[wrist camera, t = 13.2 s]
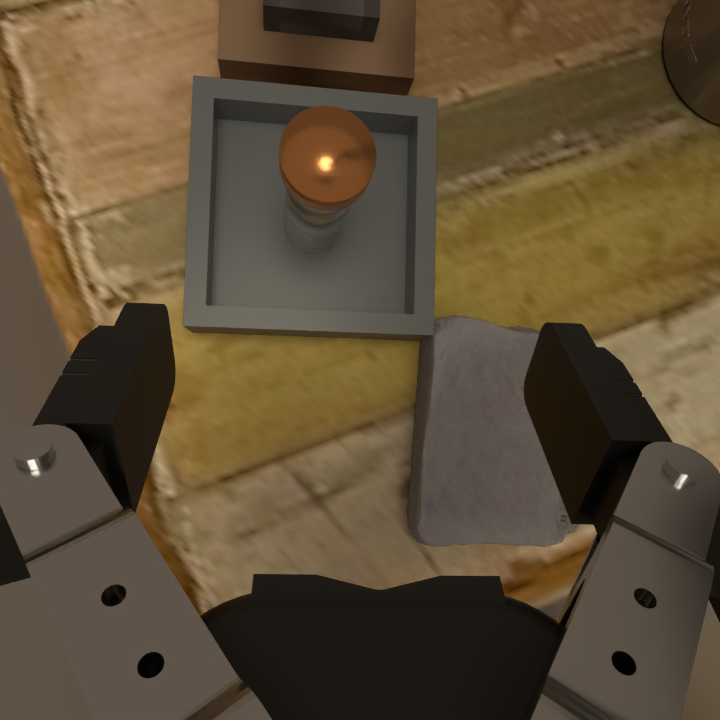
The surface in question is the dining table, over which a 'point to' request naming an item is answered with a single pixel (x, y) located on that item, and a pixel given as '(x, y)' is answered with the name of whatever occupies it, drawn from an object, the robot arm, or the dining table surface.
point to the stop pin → (323, 173)
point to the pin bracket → (320, 43)
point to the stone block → (479, 442)
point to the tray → (266, 220)
